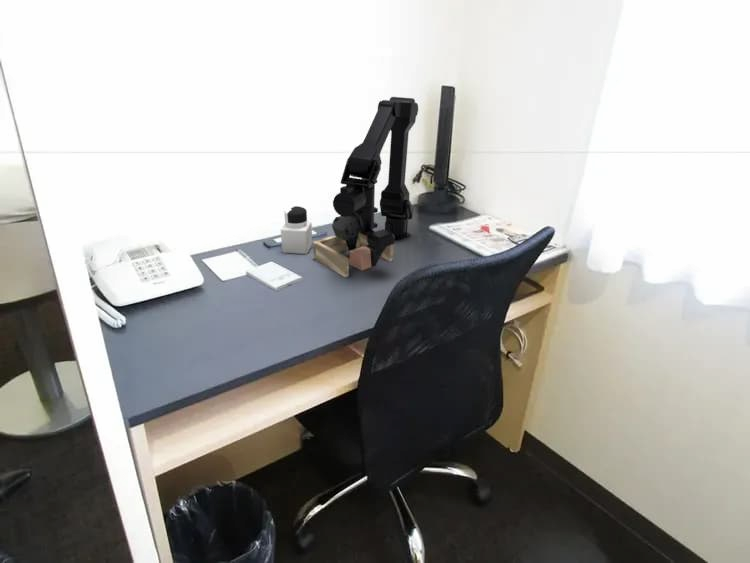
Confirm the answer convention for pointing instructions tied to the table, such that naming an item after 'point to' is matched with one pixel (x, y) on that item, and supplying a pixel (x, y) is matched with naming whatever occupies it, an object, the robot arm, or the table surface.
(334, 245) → the open wooden frame
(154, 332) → the table surface
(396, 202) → the robot arm
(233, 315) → the table surface
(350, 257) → the terracotta block
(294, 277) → the external hard drive
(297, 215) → the medicine bottle
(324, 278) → the table surface
